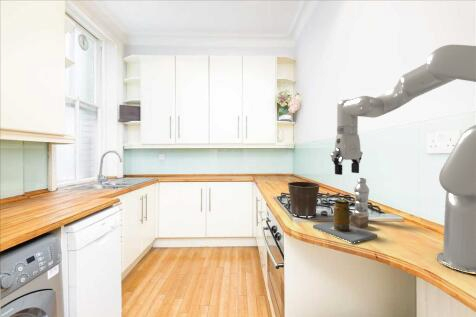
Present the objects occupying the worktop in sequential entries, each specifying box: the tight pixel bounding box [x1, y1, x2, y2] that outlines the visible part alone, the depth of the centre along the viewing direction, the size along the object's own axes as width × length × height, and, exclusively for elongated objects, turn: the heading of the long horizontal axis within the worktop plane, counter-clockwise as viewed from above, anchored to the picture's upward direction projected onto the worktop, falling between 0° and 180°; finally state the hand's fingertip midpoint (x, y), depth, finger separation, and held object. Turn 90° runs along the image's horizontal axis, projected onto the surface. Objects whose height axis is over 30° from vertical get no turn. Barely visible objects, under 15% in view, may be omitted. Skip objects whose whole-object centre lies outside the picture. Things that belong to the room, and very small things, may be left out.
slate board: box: [312, 220, 378, 243], centre depth 103 cm, size 20×14×1 cm
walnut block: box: [349, 213, 369, 229], centre depth 110 cm, size 5×5×5 cm
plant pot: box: [286, 181, 321, 217], centre depth 127 cm, size 16×16×16 cm
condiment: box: [329, 198, 357, 234], centre depth 102 cm, size 7×8×12 cm
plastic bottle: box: [353, 177, 370, 219], centre depth 117 cm, size 6×7×20 cm
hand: (347, 173), depth 101 cm, fingers open, 9 cm apart
